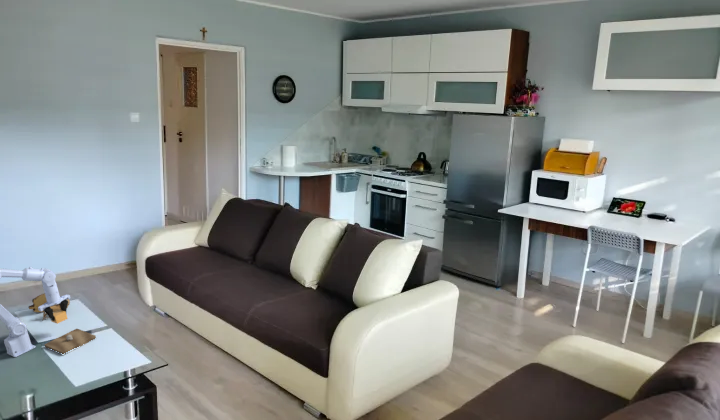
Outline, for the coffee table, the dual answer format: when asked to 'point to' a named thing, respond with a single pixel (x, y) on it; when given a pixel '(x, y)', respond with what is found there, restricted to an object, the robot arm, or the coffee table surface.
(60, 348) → the walnut board
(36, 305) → the wooden carving
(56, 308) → the lion figurine
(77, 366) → the coffee table surface
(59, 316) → the tan rounded cube
